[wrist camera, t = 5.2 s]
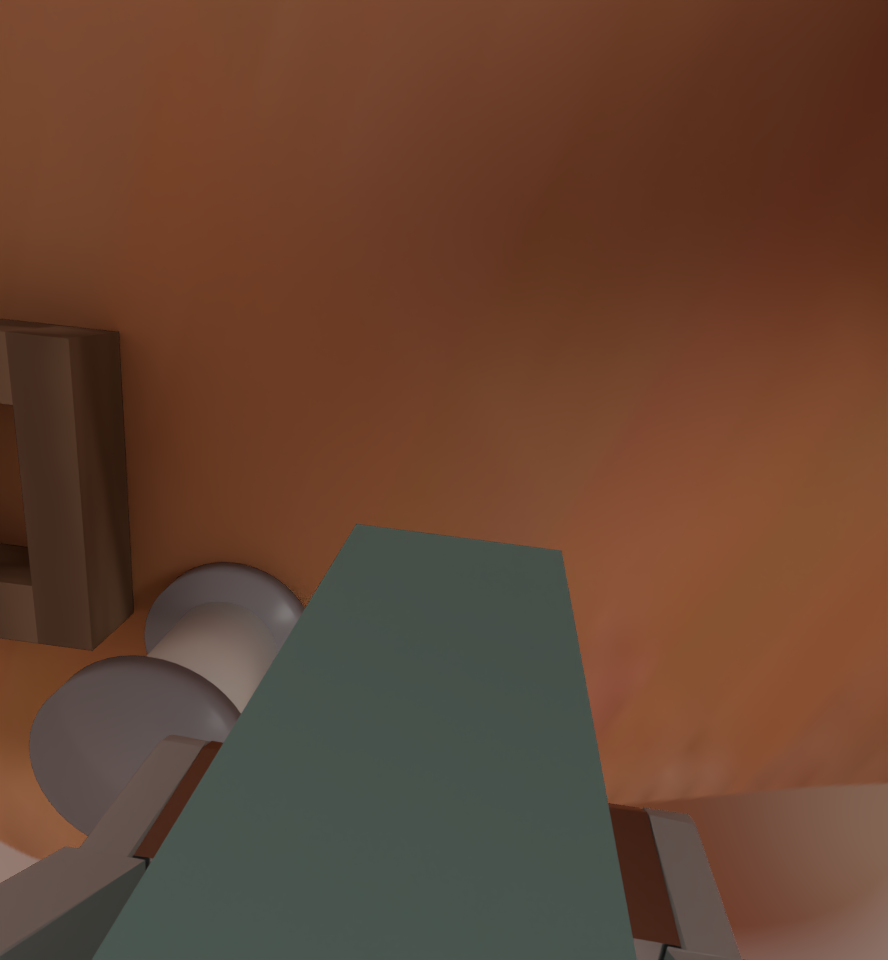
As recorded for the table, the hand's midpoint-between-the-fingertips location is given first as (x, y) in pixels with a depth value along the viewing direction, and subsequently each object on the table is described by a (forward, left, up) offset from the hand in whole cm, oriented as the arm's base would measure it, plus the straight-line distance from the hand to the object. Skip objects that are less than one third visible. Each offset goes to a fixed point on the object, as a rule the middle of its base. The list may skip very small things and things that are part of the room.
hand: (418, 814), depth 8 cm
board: (+18, +3, -18) cm, 26 cm away
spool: (+9, +10, -18) cm, 22 cm away
